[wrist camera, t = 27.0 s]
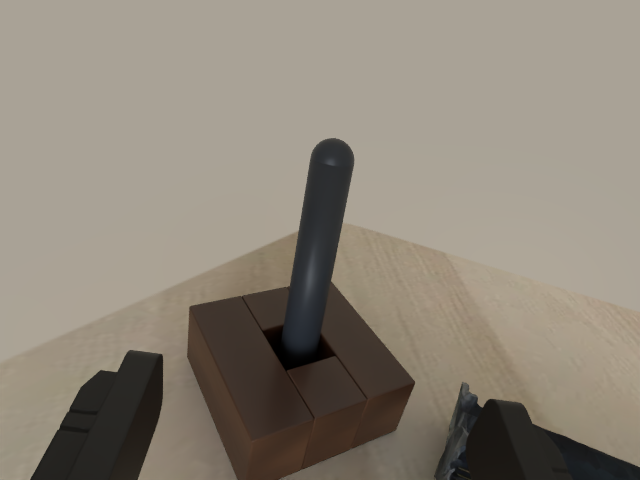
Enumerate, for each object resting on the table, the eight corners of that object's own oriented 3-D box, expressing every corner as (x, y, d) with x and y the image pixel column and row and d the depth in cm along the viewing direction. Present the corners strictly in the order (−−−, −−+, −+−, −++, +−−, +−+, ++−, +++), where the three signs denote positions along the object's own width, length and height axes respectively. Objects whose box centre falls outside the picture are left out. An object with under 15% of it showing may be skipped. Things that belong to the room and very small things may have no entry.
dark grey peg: (282, 410, 23) (329, 143, 18) (266, 387, 24) (306, 132, 20) (314, 401, 24) (366, 145, 19) (297, 379, 25) (342, 134, 20)
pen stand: (243, 495, 19) (251, 442, 18) (186, 356, 25) (188, 305, 23) (396, 430, 23) (416, 382, 22) (318, 323, 29) (328, 277, 27)
